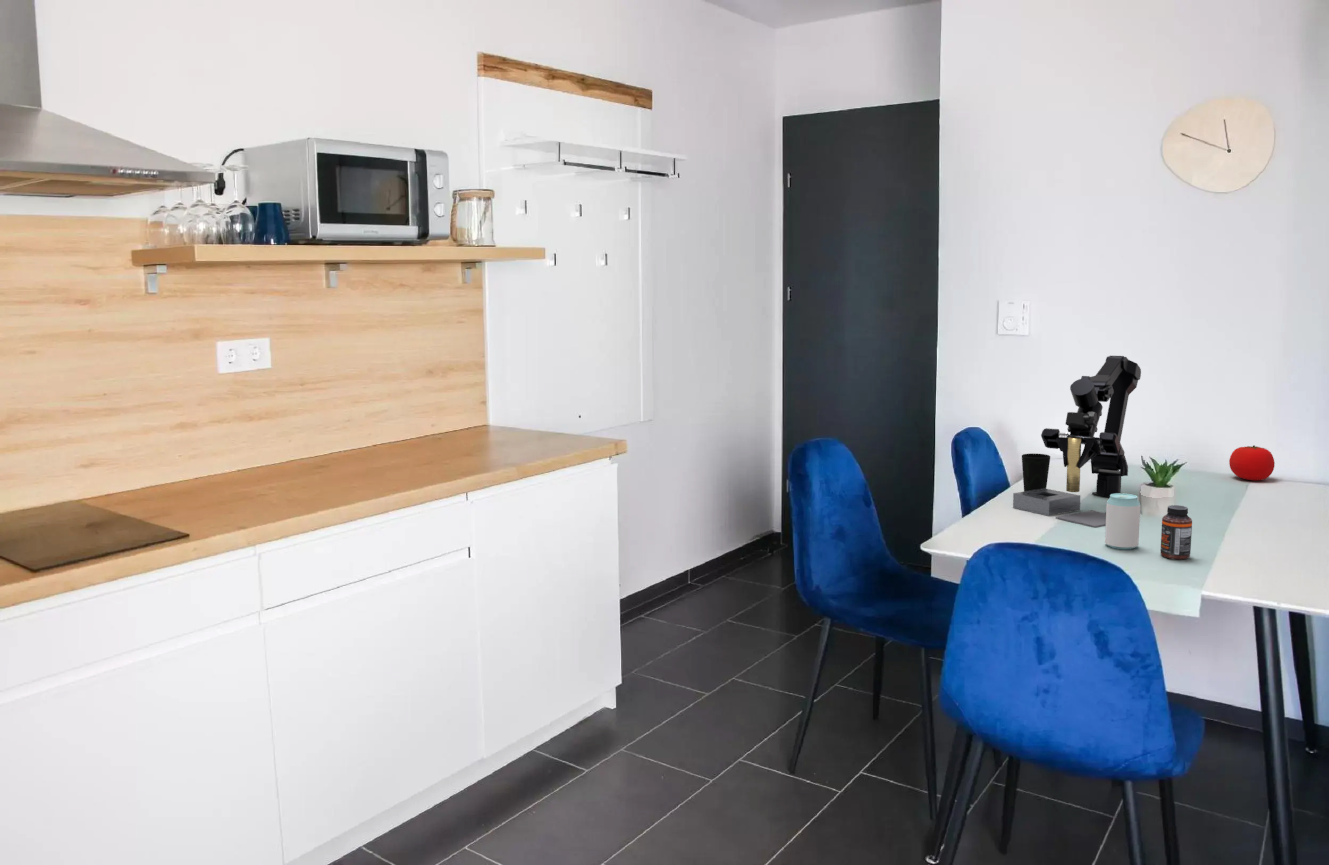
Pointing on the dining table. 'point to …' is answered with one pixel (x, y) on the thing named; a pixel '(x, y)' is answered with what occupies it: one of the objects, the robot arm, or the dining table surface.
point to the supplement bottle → (1176, 533)
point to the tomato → (1252, 463)
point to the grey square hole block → (1046, 501)
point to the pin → (1073, 464)
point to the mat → (1086, 518)
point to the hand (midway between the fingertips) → (1071, 466)
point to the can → (1122, 521)
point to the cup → (1035, 471)
